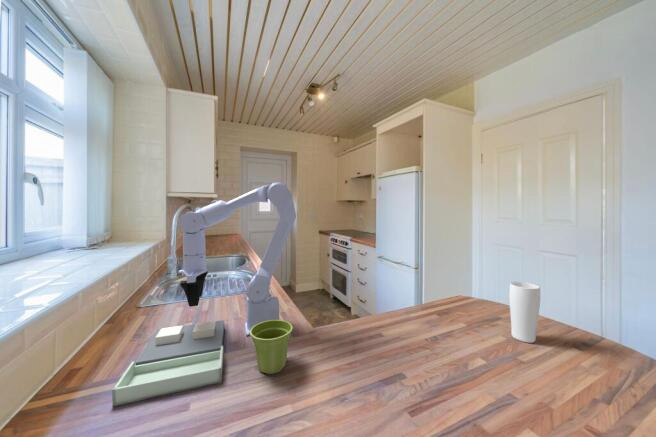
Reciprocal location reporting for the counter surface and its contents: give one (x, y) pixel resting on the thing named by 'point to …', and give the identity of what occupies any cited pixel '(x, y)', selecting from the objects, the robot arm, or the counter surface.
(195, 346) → the board
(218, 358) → the tray
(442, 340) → the counter surface
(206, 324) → the tile
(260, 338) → the plant pot
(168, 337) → the tile
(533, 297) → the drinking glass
